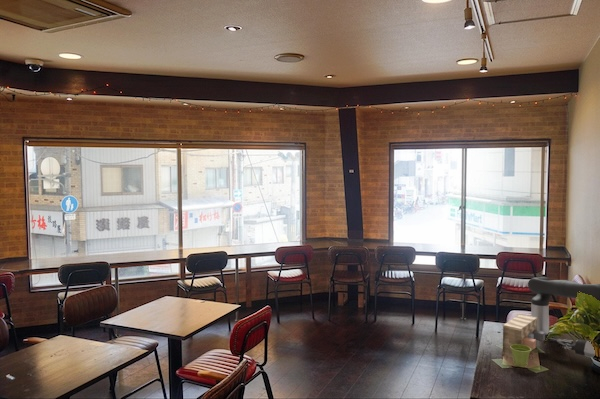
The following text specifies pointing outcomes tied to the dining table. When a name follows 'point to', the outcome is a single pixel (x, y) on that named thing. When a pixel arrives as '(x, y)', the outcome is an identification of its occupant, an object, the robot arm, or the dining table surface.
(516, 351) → the plant pot
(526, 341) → the key terracotta
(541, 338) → the key charcoal
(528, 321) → the console
